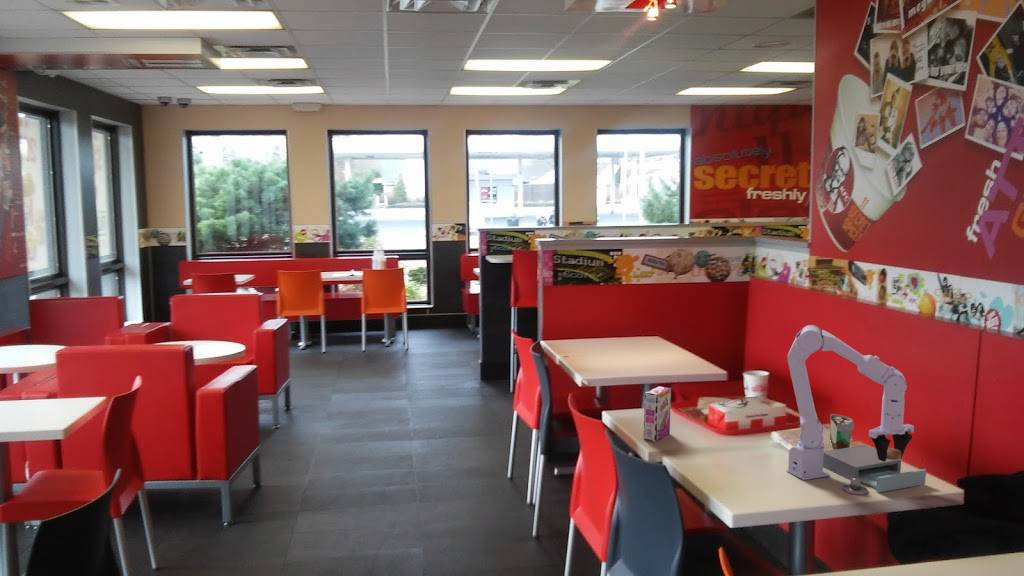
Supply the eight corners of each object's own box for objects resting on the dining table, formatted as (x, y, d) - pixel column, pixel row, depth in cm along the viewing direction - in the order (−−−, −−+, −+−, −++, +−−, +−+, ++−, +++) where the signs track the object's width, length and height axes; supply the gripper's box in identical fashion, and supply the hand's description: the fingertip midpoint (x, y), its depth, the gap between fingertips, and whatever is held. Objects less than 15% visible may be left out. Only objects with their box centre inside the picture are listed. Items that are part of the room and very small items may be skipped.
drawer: (925, 484, 228) (926, 469, 228) (878, 492, 222) (879, 478, 222) (888, 468, 241) (889, 454, 240) (843, 475, 235) (844, 462, 234)
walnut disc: (890, 460, 225) (890, 455, 225) (875, 454, 230) (876, 449, 230) (905, 458, 227) (905, 452, 227) (890, 452, 232) (890, 446, 232)
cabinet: (900, 473, 237) (901, 459, 236) (854, 481, 231) (855, 467, 230) (864, 458, 250) (865, 444, 249) (820, 465, 244) (821, 451, 243)
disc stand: (854, 496, 221) (855, 484, 220) (837, 487, 227) (838, 476, 226) (872, 493, 223) (873, 481, 222) (855, 484, 229) (856, 473, 228)
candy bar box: (656, 442, 266) (657, 394, 264) (643, 439, 269) (643, 392, 267) (670, 433, 275) (671, 387, 273) (657, 431, 278) (658, 385, 276)
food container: (856, 456, 251) (858, 426, 250) (836, 455, 252) (837, 424, 251) (848, 443, 263) (850, 414, 262) (828, 442, 264) (830, 413, 263)
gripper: (883, 419, 221) (880, 466, 223) (923, 414, 226) (920, 460, 228) (864, 412, 227) (862, 458, 229) (903, 407, 232) (901, 452, 234)
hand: (890, 458), depth 229 cm, fingers closed on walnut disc, 5 cm apart
